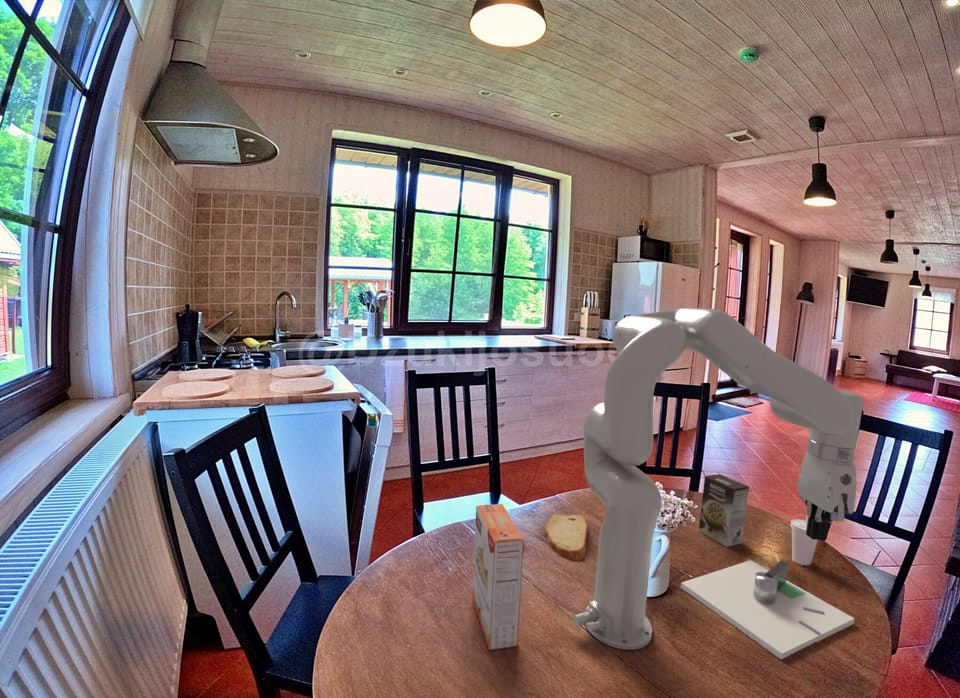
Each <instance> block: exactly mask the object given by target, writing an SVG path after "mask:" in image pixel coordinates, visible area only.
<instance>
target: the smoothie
mask: <svg viewBox="0 0 960 698" xmlns="http://www.w3.org/2000/svg"><path fill="white" fill-rule="evenodd" d="M805 516H806V517H805V520H804V519H798V518H796V519H795V518H794V519H792V520H790V524H789V525H790V527H791V560H792V561H793V562H794V561H795V562H796V563H795V562H794V563H795V564H797V563H798V564H797V565H799V564H801V565H800V566H803V565H806V566H805V567H808V566H807V565H809V566H811V563H812V560H813V556H814V553H815V550H816V547H817V543H818V541H819V540H815V539H811V538H810V537H809V536H807V535H806V529H807V523H808V517H810V516H808V515H807V514H806V515H805Z"/></svg>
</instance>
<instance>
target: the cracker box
mask: <svg viewBox="0 0 960 698" xmlns="http://www.w3.org/2000/svg"><path fill="white" fill-rule="evenodd" d="M474 530H475V533H474V550H473V551H474V552H473V553H474V554H473V578H472V602H473V605H474V608H475V612H476V614H477V616H478V617H477V618H478V620H479V623H480V626H481V630H482V633H483V636H484V639H485V641H486V642H485V643H486V646H487V649H488V651H494V650H501V649H508V648H516V647H519V638H520V624H521V623H520V621H521V620H520V619H521V604H522V603H521V601H522V585H523V568H524V554H525V553H524V552H525V551H524V549H525V539H524V537H523V536H522V534H521V532H520V530H519V529H518V527H517V526H516V524H515V523H514V521H513V519H512V518H511V516H510V514H509V512H508V511H507V509H506V507H505V506H504V504H503V503H498V504H497V503H496V504H495V503H494V504H482V505H476V507H475V528H474Z"/></svg>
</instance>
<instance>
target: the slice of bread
mask: <svg viewBox="0 0 960 698" xmlns="http://www.w3.org/2000/svg"><path fill="white" fill-rule="evenodd" d="M543 533H544V536H545V541H546V543H547V544H548V546H549V547H550V549H552V550H553V552H555V553H557V555H560V556H561V557H562V558H566V559H569V560H572V561H581V560H583V559H584V558H585V555H586V553H587V551H588V550H587V548H588V540H589V526H588V522H587V520H586V517H585V516H584V515H581V514H562V513H558V512H557V513H556V512H555V513H552V514H551V515H550V516H549V518H547V520H546V523H545V525H544V531H543Z"/></svg>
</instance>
